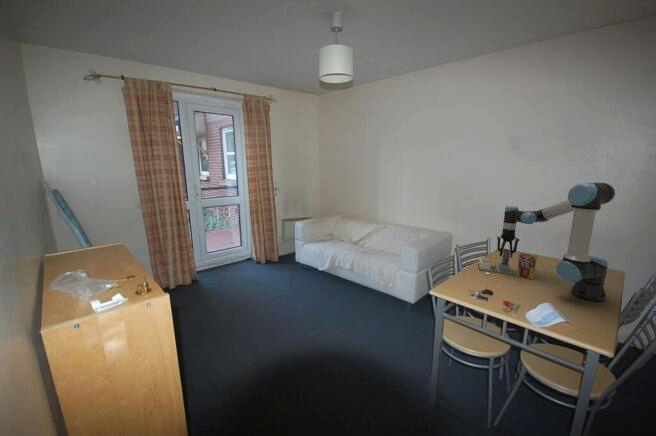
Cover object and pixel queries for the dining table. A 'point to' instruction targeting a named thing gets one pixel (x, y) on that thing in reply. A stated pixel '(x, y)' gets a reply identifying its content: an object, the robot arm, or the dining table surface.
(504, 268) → the kicker
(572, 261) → the robot arm
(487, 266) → the pitch
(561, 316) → the dining table surface
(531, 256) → the candy box
